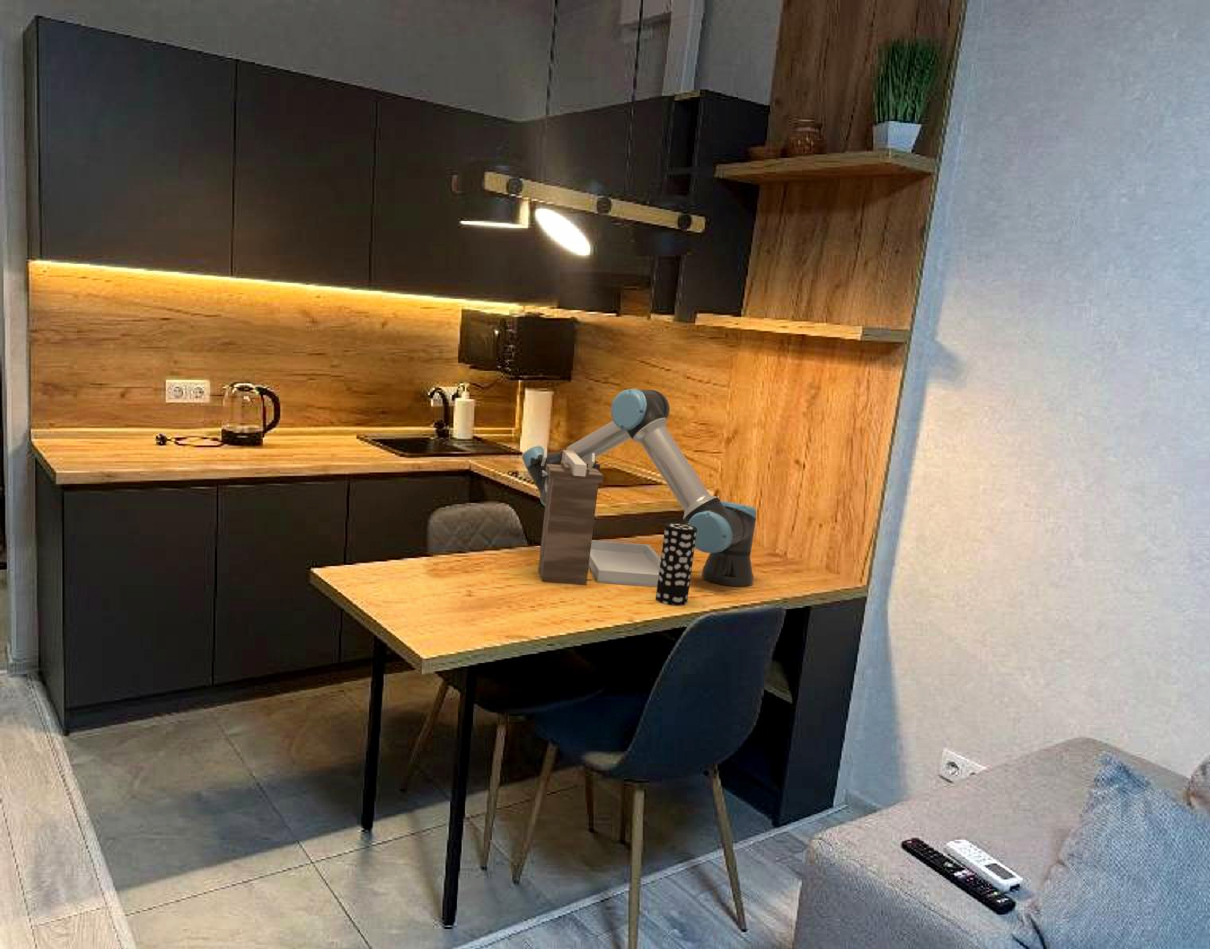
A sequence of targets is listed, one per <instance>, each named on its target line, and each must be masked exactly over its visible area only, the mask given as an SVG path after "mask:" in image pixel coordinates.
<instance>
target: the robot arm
mask: <svg viewBox="0 0 1210 949" xmlns="http://www.w3.org/2000/svg"><path fill="white" fill-rule="evenodd" d="M611 403H612V404H611V408H610V416H611V417H610V418H611V419H612V421H610V422H609V423H607V424H605V425H603V426H601V427H600V428H598V429H596V430H594V431H593V432H591V433H589V434H588V435H586V436H584V437H582V438H581V439H579V440H578V441H576V442H574V443H572V444H570V445H569V446H567V447H565V448H564V449H562V450H560V451H559V452H549V453H548V448H543V446H541V445H536V446H533V447H530V448H529V449H527V450H526V451H525V452H524V453H523V454H522V457H521V460H522V461H523V465H525V468H526V470H527V472H528V474H529V475H530V477H531V479H532V480H533V482H534V484H535V485H536V488H537V490H538V492H539V493H540V494H539V498H540V503H541V504H542V505H543V507H545V504H546V496H547V487H548V478H549V476H548V474H547V472H546V471H545V470H546V464H555V465H560V463H561V461H562V454H563V450H569V451H574V452H575V453H576V454H577V455H578V456H579V458H580V459H581V460H582V461H583V462H584V463H585V464H586V465H587V468H596V469H597V470H598V471H599V472H600V473H601V464H599V463H597V460H595V459H597V458H598V457H600V456H602V455H603V454H605V453H607V452H609V451H611V450H613V449H614V448H616V447H618V446H619V445H621V444H623V443H625V442H627V441H628V440H632V442H633V443H638V444H641V446H642V447H643V449H644V451H645V452H646V454H647V456H648V457H649V458H650V460H651V461H652V463H653V465H654V467H656V469H657V471H658V473H659V474H660V475H661V477H662V479H663V480H664V482H665V483H666V485H667V486H668V488H669V490H670V491H671V493H672V494H673V495H674V497H675V498H676V501H677V502H678V503H679V505H680V506H681V508H682V510H683V512H684V514H683V518H682V520H683V521H684V523H685V524H686V525H690V526H694V527H696V528H697V534H696V541H695V549H696V550H698V551H699V552H703V553H707V554H709V555H708V557H706V558H707V559H706V561H705V564H704V566H702V569H701V577H702V579H705V581H708V582H710V583H711V582H712V583H715V584H719V585H723V586H730V587H749V586H752V585H753V582H754V574H753V567H752V562H751V561H752V560H751V556H752V555H751V552H752V548H753V547H752V546H753V541H754V534H755V528H756V521H757V509H756V508H755V507H753V506H750V505H747V504H743V503H736V502H731V501H725V500H720V498H719V496H715V495H712V494H710V493H709V491H708V490H707V488H706V487H705V485H704V483H703V482H702V480H701V479H700V478H699V476H698V475H697V473H696V471H695V470H694V468H693V466H692V465H691V463H690V462H689V461H688V459H687V457H686V456H685V454H684V453H683V452H682V450H681V448H680V447H679V446H678V444H677V442H676V441H675V439H674V438H673V436H672V435H671V433H670V432H669V431H668V428H667V423H668V418H669V416H670V403H669V401H668V399H667V397H666V396H665V395H664V394H663V393H661V392H660V391H658V390H655V389H639V388H629V389H623V390H622V391H620V392H619V393H618V394H617V395H616V396H615V397H614V399H613V401H612V402H611Z"/></svg>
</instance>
